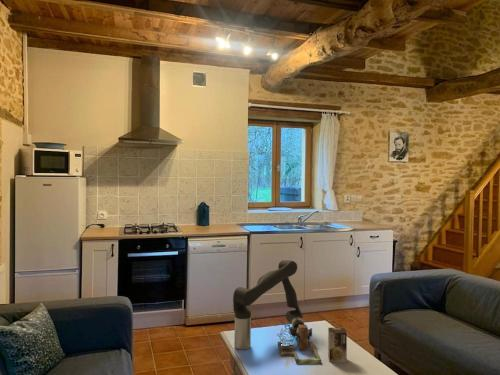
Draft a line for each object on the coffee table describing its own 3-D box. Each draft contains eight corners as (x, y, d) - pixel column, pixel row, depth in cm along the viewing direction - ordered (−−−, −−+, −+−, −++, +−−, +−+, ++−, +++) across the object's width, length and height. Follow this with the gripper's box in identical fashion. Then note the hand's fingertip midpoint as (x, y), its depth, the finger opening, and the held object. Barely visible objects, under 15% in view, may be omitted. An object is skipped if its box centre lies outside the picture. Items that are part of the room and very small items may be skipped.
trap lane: (282, 364, 190) (283, 360, 190) (277, 343, 214) (277, 340, 214) (321, 363, 191) (321, 359, 191) (311, 343, 215) (311, 340, 215)
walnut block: (299, 350, 205) (299, 327, 205) (298, 347, 210) (298, 324, 210) (307, 350, 206) (307, 327, 205) (305, 347, 210) (306, 324, 210)
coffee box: (344, 357, 198) (345, 327, 198) (346, 363, 192) (347, 332, 192) (327, 356, 199) (328, 327, 199) (329, 362, 193) (329, 331, 193)
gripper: (286, 319, 222) (291, 331, 205) (310, 319, 222) (316, 331, 205) (286, 332, 222) (291, 344, 205) (310, 331, 222) (316, 344, 205)
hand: (303, 337), depth 205 cm, fingers closed on walnut block, 4 cm apart
